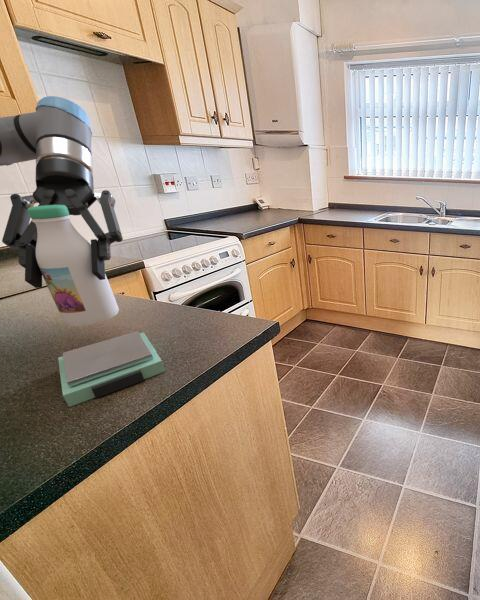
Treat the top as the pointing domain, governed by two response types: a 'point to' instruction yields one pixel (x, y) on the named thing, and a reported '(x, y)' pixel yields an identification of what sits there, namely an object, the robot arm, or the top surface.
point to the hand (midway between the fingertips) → (67, 279)
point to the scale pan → (104, 357)
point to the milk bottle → (70, 268)
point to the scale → (110, 378)
